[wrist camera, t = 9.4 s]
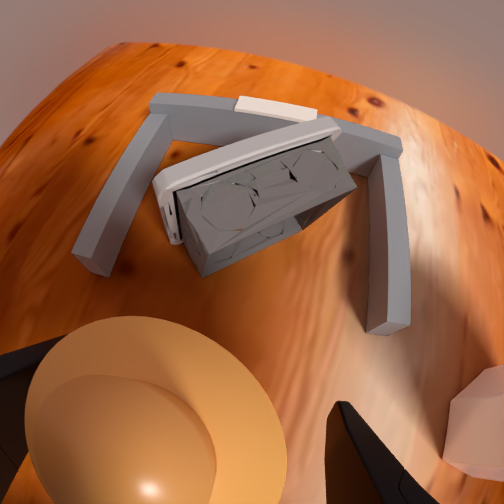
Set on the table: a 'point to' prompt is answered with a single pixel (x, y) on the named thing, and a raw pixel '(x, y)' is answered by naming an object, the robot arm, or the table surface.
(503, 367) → the jar
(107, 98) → the table surface
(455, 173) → the table surface
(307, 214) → the electrical switch
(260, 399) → the pin
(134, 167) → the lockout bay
